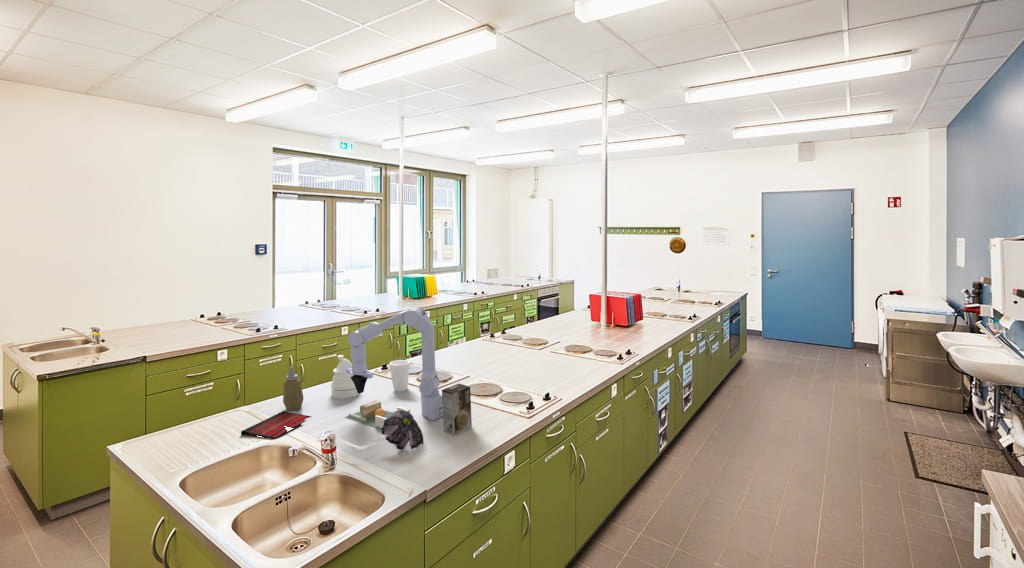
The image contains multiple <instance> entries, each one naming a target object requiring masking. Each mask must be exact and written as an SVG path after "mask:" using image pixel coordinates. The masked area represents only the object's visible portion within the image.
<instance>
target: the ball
mask: <svg viewBox="0 0 1024 568" xmlns="http://www.w3.org/2000/svg"><path fill="white" fill-rule="evenodd" d="M385 411H386V410H385ZM385 411H384V408H381V409H377V410H376V411H375V416H376V415H378V416H381V417H384V416H385Z"/></svg>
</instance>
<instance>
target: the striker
mask: <svg viewBox="0 0 1024 568" xmlns="http://www.w3.org/2000/svg"><path fill="white" fill-rule="evenodd" d="M377 409H382V401H380V400H373V401H370V402H367V403H365V404H362V405H359V412H360V417H364V418H366V419H369V418H371V417H374V416H375V411H376V410H377Z"/></svg>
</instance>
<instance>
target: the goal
mask: <svg viewBox="0 0 1024 568" xmlns="http://www.w3.org/2000/svg"><path fill="white" fill-rule="evenodd" d="M396 409H397V410H396V411H400V410H403V411H407V412H409V413H410V414H411V410H410V409H409V408H405V407H401V406H397V407H396ZM393 416H394V415H393ZM386 419H387V418H384V417H381V416H378V415H376V416H375V424H376V426H377V427H380V428H383V425H384V420H386Z"/></svg>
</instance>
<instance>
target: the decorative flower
mask: <svg viewBox="0 0 1024 568" xmlns="http://www.w3.org/2000/svg"><path fill="white" fill-rule="evenodd" d="M392 415H394V416H391V417H388V418H387V419H386V420H384V425H383V428H382V430H381V434H382V435H384V436H385V435H386V437H385V441H387V442H388V444H389V443H390V444H393V445H395V446H396V450H400V451H402V450H404V449H405V448H406V447H407V446H408V444H409V446H410V448H411V450H413V449H414V448H416V449H417V447H419V446H420V445H421V444H422V445H424V435H423V432H422V429H421V427H420V426H419V424H418V422H417V420H416V419H414V415H413V414H411V412H410V413H409V412H407V411H403V410H400V411H397V410H396V411H393V412H392Z"/></svg>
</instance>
